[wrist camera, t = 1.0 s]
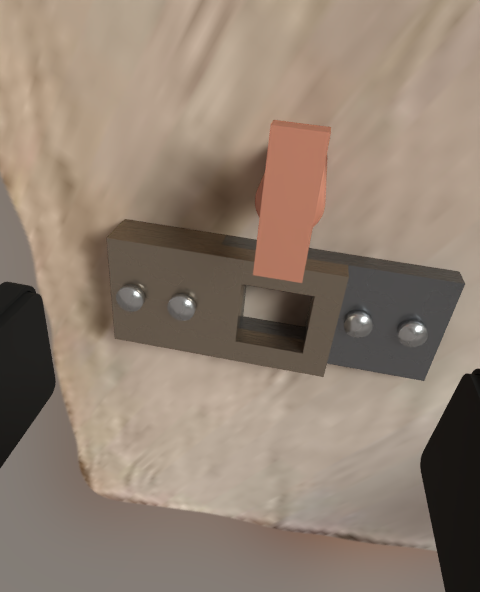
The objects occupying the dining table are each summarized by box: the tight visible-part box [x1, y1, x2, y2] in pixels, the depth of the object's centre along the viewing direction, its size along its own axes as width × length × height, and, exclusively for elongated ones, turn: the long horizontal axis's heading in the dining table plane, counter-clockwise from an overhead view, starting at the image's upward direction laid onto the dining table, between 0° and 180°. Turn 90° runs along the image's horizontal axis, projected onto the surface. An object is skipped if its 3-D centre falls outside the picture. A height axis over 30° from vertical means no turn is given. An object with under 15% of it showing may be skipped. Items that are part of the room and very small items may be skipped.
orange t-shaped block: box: [253, 120, 331, 283], centre depth 23 cm, size 3×7×8 cm, turn 175°
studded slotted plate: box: [107, 219, 465, 381], centre depth 30 cm, size 22×8×4 cm, turn 85°
